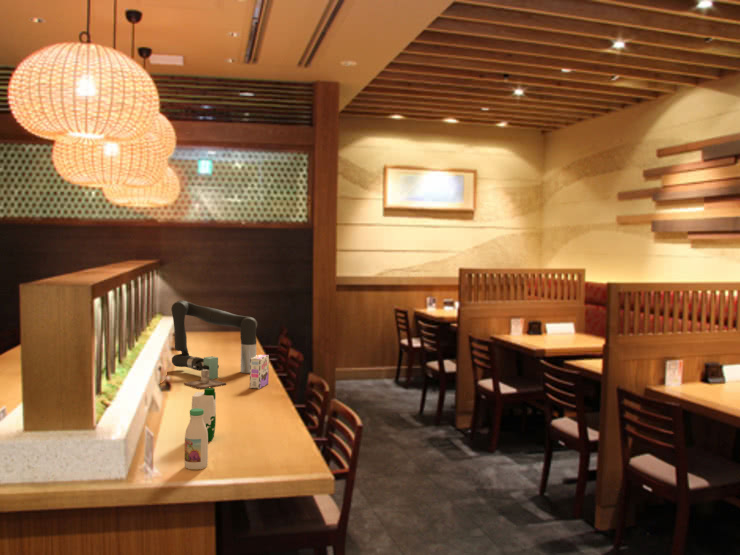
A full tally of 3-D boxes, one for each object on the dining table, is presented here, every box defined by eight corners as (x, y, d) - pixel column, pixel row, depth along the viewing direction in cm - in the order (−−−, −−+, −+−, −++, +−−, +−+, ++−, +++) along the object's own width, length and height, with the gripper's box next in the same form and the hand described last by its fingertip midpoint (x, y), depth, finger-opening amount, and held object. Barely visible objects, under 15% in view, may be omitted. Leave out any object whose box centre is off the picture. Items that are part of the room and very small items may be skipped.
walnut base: (208, 380, 358) (209, 366, 357) (226, 384, 347) (226, 370, 347) (184, 384, 346) (184, 370, 345) (201, 389, 335) (201, 374, 335)
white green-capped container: (213, 442, 246) (213, 391, 245) (189, 442, 245) (190, 391, 244) (216, 435, 254) (217, 386, 254) (193, 435, 254) (194, 386, 253)
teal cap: (211, 376, 367) (212, 356, 367) (217, 378, 364) (218, 357, 363) (203, 378, 363) (203, 357, 362) (209, 379, 359) (209, 358, 359)
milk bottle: (197, 461, 224) (198, 405, 223) (212, 466, 219) (213, 409, 218) (179, 467, 217) (180, 409, 216) (194, 472, 213) (195, 413, 212)
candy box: (259, 389, 338) (260, 358, 338) (249, 388, 340) (249, 358, 339) (268, 384, 352) (269, 354, 351) (258, 383, 353) (259, 354, 352)
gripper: (185, 358, 367) (202, 362, 356) (206, 355, 378) (223, 359, 367) (185, 371, 367) (202, 375, 356) (206, 368, 378) (223, 372, 367)
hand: (213, 367), depth 361 cm, fingers closed on teal cap, 5 cm apart
